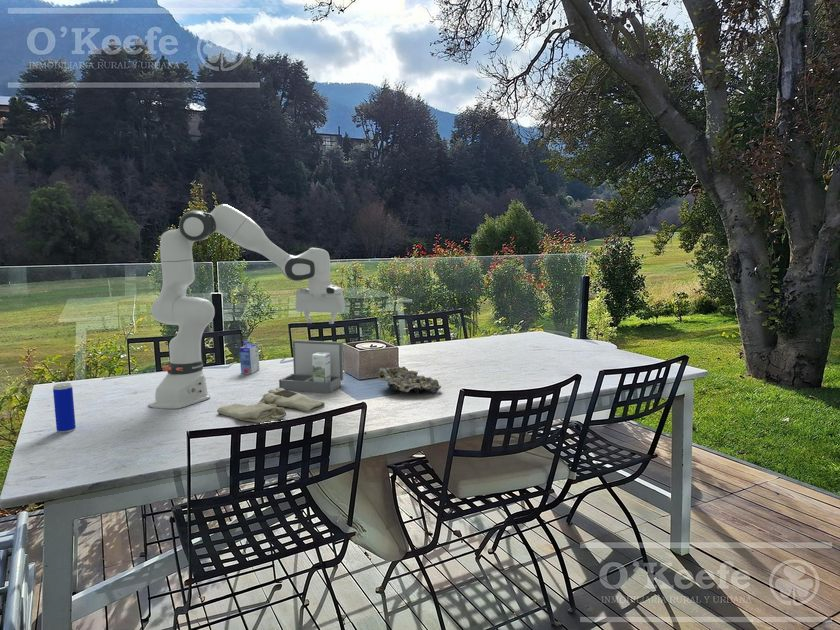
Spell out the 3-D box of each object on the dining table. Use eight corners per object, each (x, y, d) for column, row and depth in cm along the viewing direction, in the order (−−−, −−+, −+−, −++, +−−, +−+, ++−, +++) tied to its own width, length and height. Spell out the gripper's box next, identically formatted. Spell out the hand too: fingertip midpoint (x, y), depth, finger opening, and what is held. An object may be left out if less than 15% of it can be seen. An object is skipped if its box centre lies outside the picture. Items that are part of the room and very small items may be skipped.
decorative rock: (397, 399, 212) (395, 372, 212) (370, 392, 236) (369, 368, 236) (447, 392, 222) (446, 366, 222) (417, 386, 246) (416, 363, 246)
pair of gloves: (282, 396, 222) (282, 383, 221) (327, 408, 206) (327, 394, 205) (213, 415, 198) (212, 400, 197) (258, 430, 182) (258, 414, 182)
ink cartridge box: (248, 369, 268) (247, 338, 266) (260, 369, 267) (258, 338, 265) (240, 374, 258) (238, 342, 256) (251, 374, 257) (250, 342, 255)
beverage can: (79, 427, 184) (75, 382, 182) (69, 433, 178) (66, 386, 177) (62, 428, 183) (58, 382, 182) (53, 433, 178) (49, 386, 176)
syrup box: (331, 386, 234) (330, 352, 232) (325, 390, 228) (324, 355, 227) (318, 386, 236) (317, 351, 234) (312, 389, 230) (311, 354, 228)
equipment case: (330, 393, 224) (329, 348, 222) (279, 389, 230) (277, 345, 228) (343, 384, 238) (342, 342, 236) (295, 381, 243) (294, 340, 241)
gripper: (292, 289, 225) (293, 323, 227) (340, 289, 220) (341, 325, 222) (299, 287, 232) (300, 321, 233) (346, 288, 227) (347, 323, 228)
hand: (320, 323), depth 228 cm, fingers open, 8 cm apart
